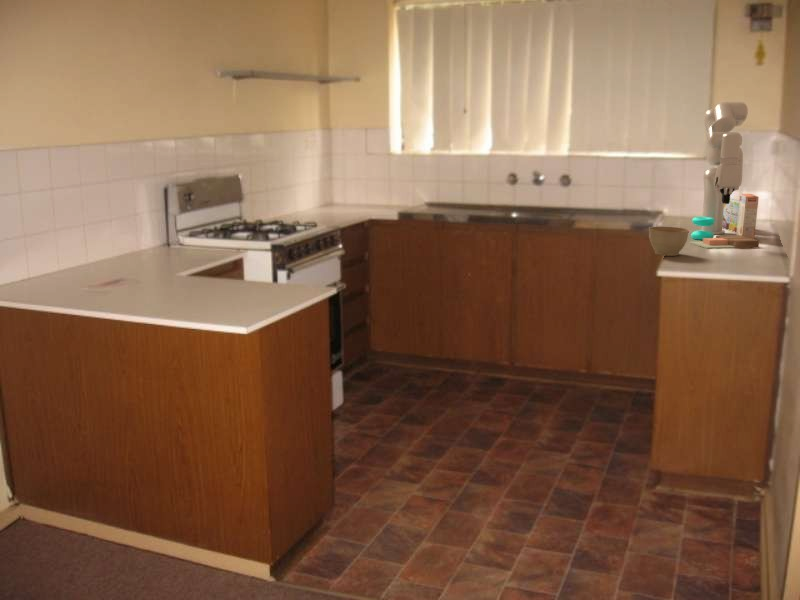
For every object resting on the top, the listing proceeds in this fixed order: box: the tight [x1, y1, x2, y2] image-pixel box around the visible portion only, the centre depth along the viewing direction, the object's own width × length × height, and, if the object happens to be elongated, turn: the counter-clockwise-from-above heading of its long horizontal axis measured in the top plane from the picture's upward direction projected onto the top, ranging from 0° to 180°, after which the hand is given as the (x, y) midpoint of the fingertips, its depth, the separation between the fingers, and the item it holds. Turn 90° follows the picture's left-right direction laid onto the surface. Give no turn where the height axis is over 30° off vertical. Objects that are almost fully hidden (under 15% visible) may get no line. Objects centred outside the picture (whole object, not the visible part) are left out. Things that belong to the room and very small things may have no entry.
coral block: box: [702, 237, 729, 245], centre depth 377 cm, size 6×9×2 cm, turn 99°
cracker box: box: [735, 193, 760, 240], centre depth 392 cm, size 14×6×21 cm, turn 168°
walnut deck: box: [715, 234, 760, 249], centre depth 378 cm, size 17×11×3 cm, turn 9°
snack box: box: [722, 198, 740, 233], centre depth 421 cm, size 21×6×15 cm, turn 5°
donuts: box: [690, 216, 715, 241], centre depth 395 cm, size 10×10×10 cm
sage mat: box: [689, 240, 736, 250], centre depth 377 cm, size 16×13×1 cm
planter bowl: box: [648, 226, 690, 257], centre depth 353 cm, size 16×16×11 cm
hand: (725, 203), depth 374 cm, fingers closed
